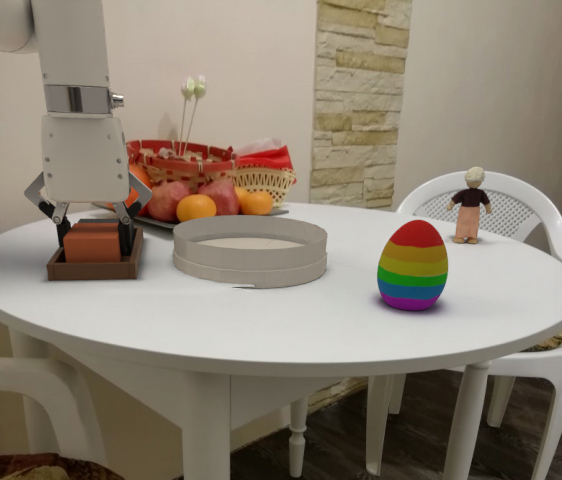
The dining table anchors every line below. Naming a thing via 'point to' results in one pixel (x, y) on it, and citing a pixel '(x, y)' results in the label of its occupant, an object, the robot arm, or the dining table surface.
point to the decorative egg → (413, 267)
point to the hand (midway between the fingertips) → (96, 251)
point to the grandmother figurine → (470, 206)
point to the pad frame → (97, 265)
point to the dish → (251, 250)
